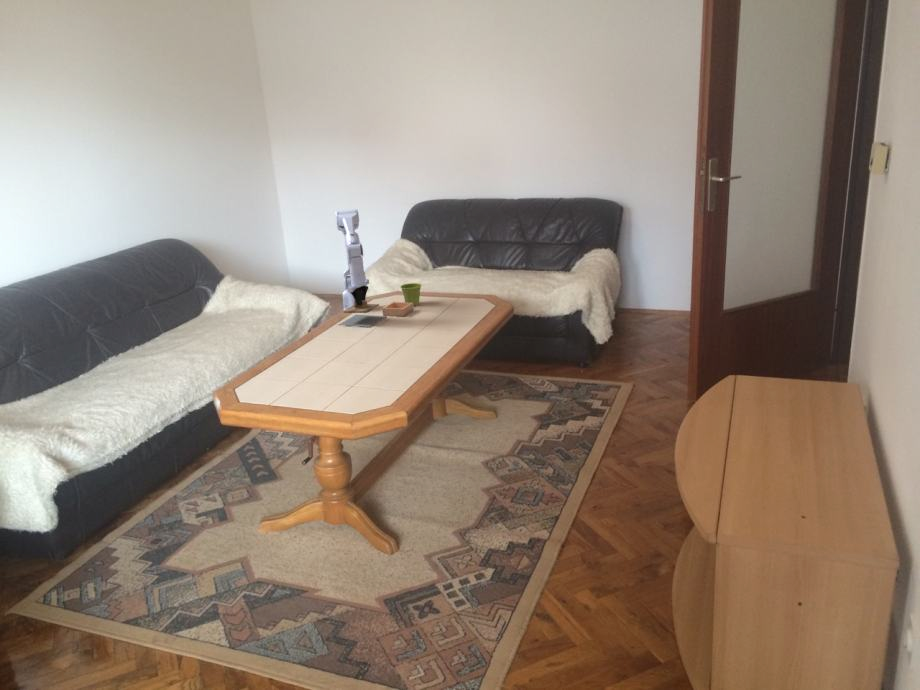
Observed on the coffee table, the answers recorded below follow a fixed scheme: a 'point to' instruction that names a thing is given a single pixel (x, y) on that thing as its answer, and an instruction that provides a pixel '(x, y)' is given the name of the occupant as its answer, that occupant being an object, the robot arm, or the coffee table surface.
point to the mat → (363, 320)
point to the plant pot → (411, 293)
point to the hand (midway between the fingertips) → (360, 304)
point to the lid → (361, 307)
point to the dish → (398, 309)
